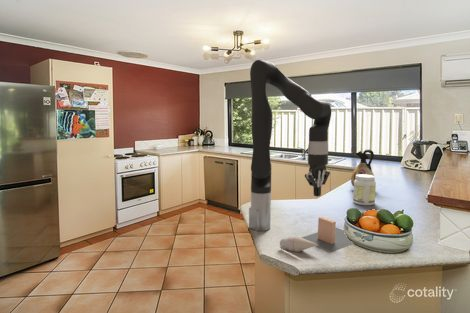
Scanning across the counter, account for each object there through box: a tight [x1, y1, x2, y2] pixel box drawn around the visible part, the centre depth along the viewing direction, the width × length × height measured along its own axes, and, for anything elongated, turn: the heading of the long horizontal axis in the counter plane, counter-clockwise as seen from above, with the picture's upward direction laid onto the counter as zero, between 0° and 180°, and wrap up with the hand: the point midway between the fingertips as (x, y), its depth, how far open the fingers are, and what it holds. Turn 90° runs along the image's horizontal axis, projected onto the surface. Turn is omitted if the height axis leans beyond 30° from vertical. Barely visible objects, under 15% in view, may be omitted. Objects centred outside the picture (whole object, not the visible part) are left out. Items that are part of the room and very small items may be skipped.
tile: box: [317, 216, 337, 244], centre depth 120 cm, size 2×7×9 cm, turn 34°
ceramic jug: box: [350, 149, 376, 187], centre depth 206 cm, size 17×15×30 cm
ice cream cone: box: [279, 235, 318, 253], centre depth 111 cm, size 6×6×15 cm
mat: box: [300, 227, 355, 254], centre depth 123 cm, size 24×16×1 cm, turn 124°
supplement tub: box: [352, 174, 377, 206], centre depth 177 cm, size 12×12×17 cm
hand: (317, 195), depth 116 cm, fingers closed
